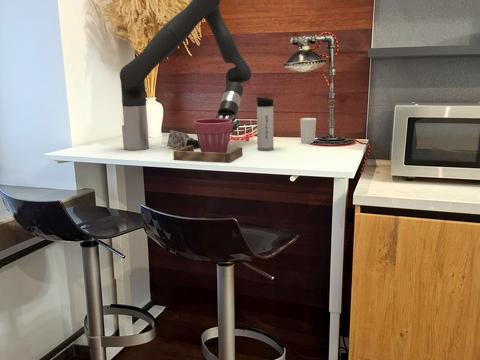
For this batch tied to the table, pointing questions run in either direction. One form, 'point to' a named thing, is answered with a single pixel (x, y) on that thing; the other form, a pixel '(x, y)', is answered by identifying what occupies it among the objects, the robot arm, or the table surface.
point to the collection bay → (206, 155)
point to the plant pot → (213, 134)
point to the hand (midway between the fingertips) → (219, 141)
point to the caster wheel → (181, 140)
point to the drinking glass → (308, 130)
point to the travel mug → (264, 124)
